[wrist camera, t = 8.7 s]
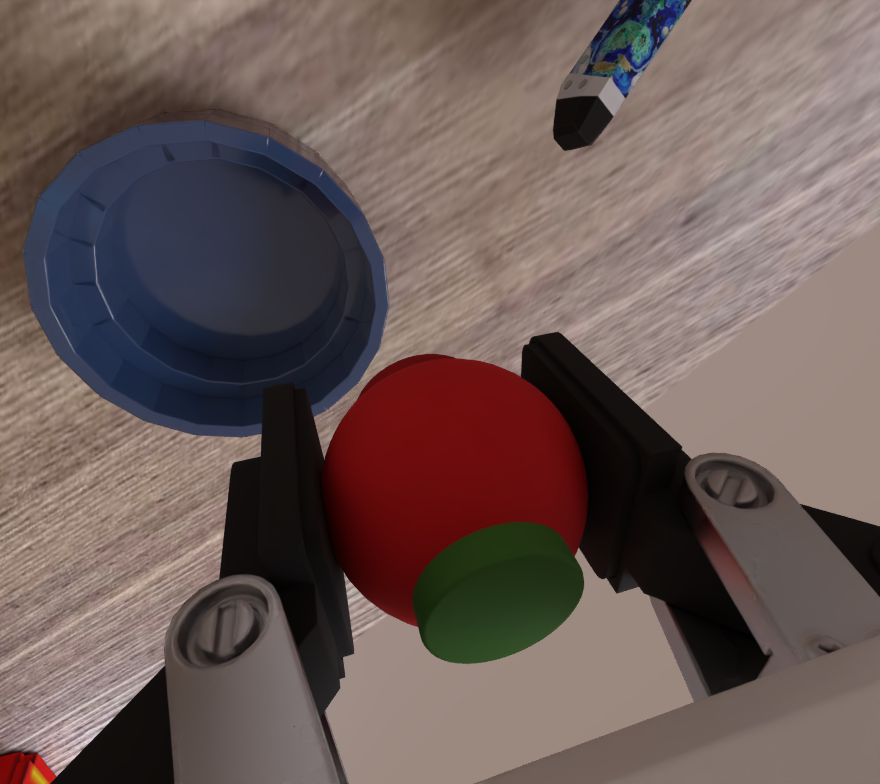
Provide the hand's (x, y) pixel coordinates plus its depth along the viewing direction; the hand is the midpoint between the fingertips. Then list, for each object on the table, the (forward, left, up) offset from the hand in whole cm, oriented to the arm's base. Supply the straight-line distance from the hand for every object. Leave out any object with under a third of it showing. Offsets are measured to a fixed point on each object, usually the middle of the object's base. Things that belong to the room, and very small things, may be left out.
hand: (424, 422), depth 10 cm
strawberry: (0, 0, 0) cm, 0 cm away
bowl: (+1, -5, -16) cm, 16 cm away
